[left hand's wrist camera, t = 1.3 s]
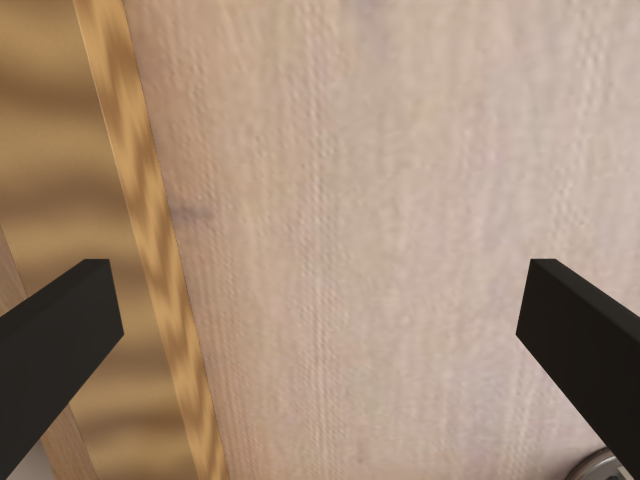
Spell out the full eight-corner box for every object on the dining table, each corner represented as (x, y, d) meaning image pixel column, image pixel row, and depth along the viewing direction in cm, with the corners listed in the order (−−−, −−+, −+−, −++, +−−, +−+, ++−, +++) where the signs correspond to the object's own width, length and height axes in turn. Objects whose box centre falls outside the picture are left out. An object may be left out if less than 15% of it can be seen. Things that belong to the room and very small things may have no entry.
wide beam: (-14, -27, 28) (-111, -62, 22) (113, -40, 28) (52, -80, 22) (164, 524, 48) (140, 590, 42) (239, 520, 48) (226, 585, 42)
